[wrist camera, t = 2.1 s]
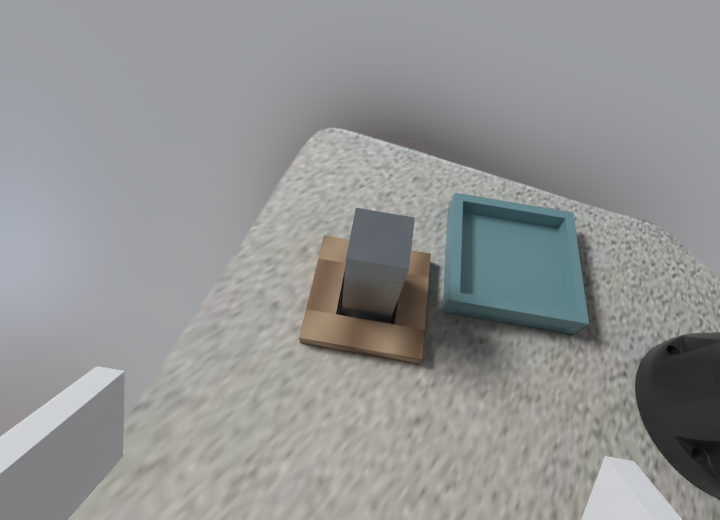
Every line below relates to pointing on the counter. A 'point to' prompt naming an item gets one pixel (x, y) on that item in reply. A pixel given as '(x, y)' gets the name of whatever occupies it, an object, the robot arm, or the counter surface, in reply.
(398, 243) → the grey rectangular block
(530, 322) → the tray
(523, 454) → the counter surface
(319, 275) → the socket plate
